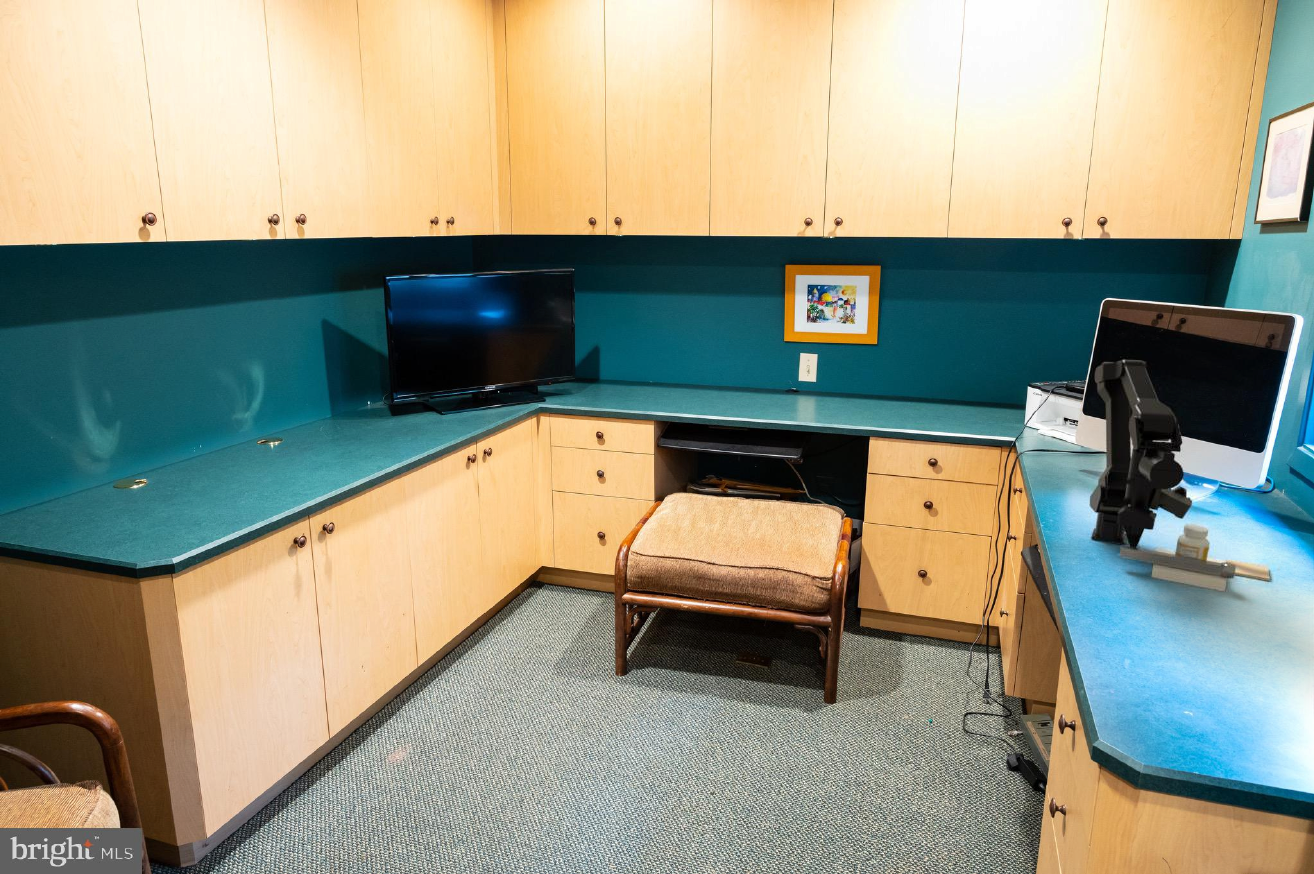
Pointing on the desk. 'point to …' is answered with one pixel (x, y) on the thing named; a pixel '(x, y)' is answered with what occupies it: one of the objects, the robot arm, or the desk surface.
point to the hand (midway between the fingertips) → (1133, 548)
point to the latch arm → (1178, 561)
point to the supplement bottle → (1193, 542)
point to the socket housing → (1189, 575)
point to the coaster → (1250, 570)
